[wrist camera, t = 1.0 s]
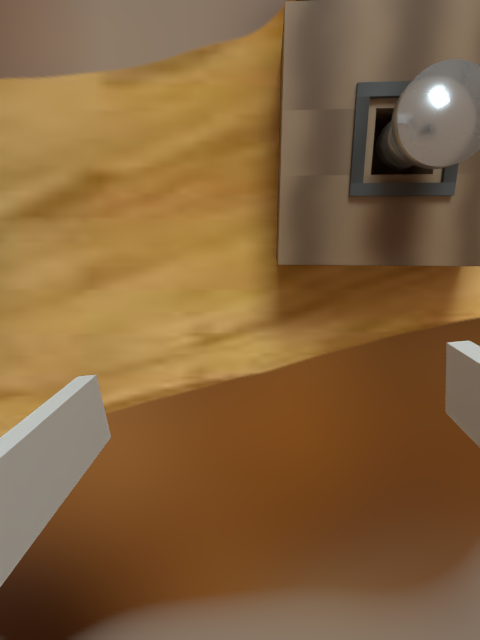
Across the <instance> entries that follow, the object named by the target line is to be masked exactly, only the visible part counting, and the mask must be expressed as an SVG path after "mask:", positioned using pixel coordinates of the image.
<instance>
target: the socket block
mask: <svg viewBox="0 0 480 640" xmlns="http://www.w3.org/2000/svg"><path fill="white" fill-rule="evenodd" d="M449 59H463V60H468V61H471V62H474V63H476V64H478V65H479V66H480V0H308V1H286V2H285V10H284V24H283V37H282V51H281V90H280V129H279V169H278V208H277V248H276V259H277V262H278V265H388V266H480V149H479V150H478V151H477V152H476V153H475V154H474V155H472V156H471V157H469V158H468V159H466V160H464V161H462V162H460V163H457V164H454V165H451V166H448V167H445V168H441V169H424V168H420V167H417V166H415V165H413V166H411V167H409V168H406V169H404V170H391V169H388V168H386V167H385V166H383V165H382V164H381V163H380V161H379V160H378V158H377V155H376V141H377V137H378V135H379V133H380V132H381V130H382V129H383V128H384V127H385V126H386V125H387V124H388V123H389V122H391V121H392V114H393V111H394V107H395V105H396V102H397V100H398V99H399V97H400V95H401V94H402V92H403V91H404V89H405V88H406V87H407V86H408V85H409V84H410V83H411V82H412V81H413V80H414V79H415V78H416V76H418V75H419V74H420V73H421V72H422V71H423V70H425V69H426V68H428V67H429V66H431V65H433V64H435V63H438V62H440V61H444V60H449Z"/></svg>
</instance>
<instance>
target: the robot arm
mask: <svg viewBox="0 0 480 640" xmlns="http://www.w3.org/2000/svg"><path fill="white" fill-rule="evenodd" d="M446 351H447V353H446V356H447V357H446V413H447V414H448V415H449V416H450V417H451V419H453V421H454V422H455V423H456V424H457V425H458V426H459V427H461V429H462V430H463V431H464V432H465V433H466V434H467V435H468V436H469V437H470V438H471V439H472V440H473V441H474V442H475V443H476V444H477V445H478V446H479V447H480V346H478V345H476V344H474V343H473V342H471V341H459V342H449V343H447V350H446ZM110 438H111V435H110V431H109V427H108V423H107V418H106V414H105V410H104V405H103V401H102V397H101V393H100V388H99V384H98V380H97V375H88V376H78V377H76V378H75V379H74V380H73V381H71V382H70V383H69V384H68V385H66V386H65V387H64V388H63V389H61V390H60V391H59V392H58V393H56V394H55V395H54V396H52V397H51V398H50V399H49V400H47V401H46V402H45V403H44V404H42V405H41V406H40V407H39V408H37V409H36V410H35V411H33V412H32V413H31V414H30V415H28V416H27V417H26V418H25V419H23V420H22V421H21V422H20V423H18V424H17V425H16V426H15V427H13V428H12V429H11V430H9V431H8V432H7V433H6V434H4V435H3V436H2V437H1V438H0V586H1V585H2V584H3V582H4V581H5V580H6V578H7V577H8V576H9V574H10V573H11V572H12V570H13V569H14V568H15V566H16V565H17V563H18V562H19V561H20V559H21V558H22V557H23V555H24V554H25V553H26V551H27V550H28V549H29V547H30V546H31V545H32V543H33V542H34V540H35V539H36V538H37V536H38V535H39V534H40V532H41V531H42V530H43V528H44V527H45V526H46V524H47V523H48V522H49V520H50V519H51V518H52V516H53V515H54V513H55V512H56V511H57V509H58V508H59V507H60V505H61V504H62V503H63V501H64V500H65V499H66V497H67V496H68V495H69V493H70V492H71V490H72V489H73V488H74V486H75V485H76V484H77V482H78V481H79V480H80V478H81V477H82V475H83V474H84V473H85V472H86V470H87V469H88V467H89V466H90V465H91V463H92V462H93V461H94V459H95V458H96V457H97V455H98V454H99V453H100V451H101V450H102V449H103V447H104V446H105V444H106V443H107V442H108V440H109V439H110Z"/></svg>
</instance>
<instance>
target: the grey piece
mask: <svg viewBox="0 0 480 640" xmlns="http://www.w3.org/2000/svg"><path fill="white" fill-rule="evenodd" d="M479 149H480V66H479V65H478V64H476V63H474V62H471V61H468V60H463V59H449V60H444V61H440V62H438V63H435V64H433V65H431V66H429V67H428V68H426V69H425V70H423V71H422V72H421V73H420V74H419V75H418V76H416V78H415V79H414V80H413V81H412V82H411V83H410V84H409V85H408V86H407V87H406V88H405V89H404V91H403V92H402V94H401V95H400V97H399V99H398V100H397V102H396V105H395V107H394V111H393V114H392V121H391V122H389V123H388V124H387V125H386V126H385V127H384V128H383V129H382V130H381V132H380V133H379V135H378V137H377V141H376V155H377V158H378V160H379V161H380V163H381V164H382V165H383V166H385V167H386V168H388V169H391V170H404V169H406V168H409V167H411V166H413V165H415V166H417V167H420V168H424V169H441V168H445V167H448V166H451V165H454V164H457V163H460V162H462V161H464V160H466V159H468V158H469V157H471V156H472V155H474V154H475V153H476V152H477V151H478V150H479Z"/></svg>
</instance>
